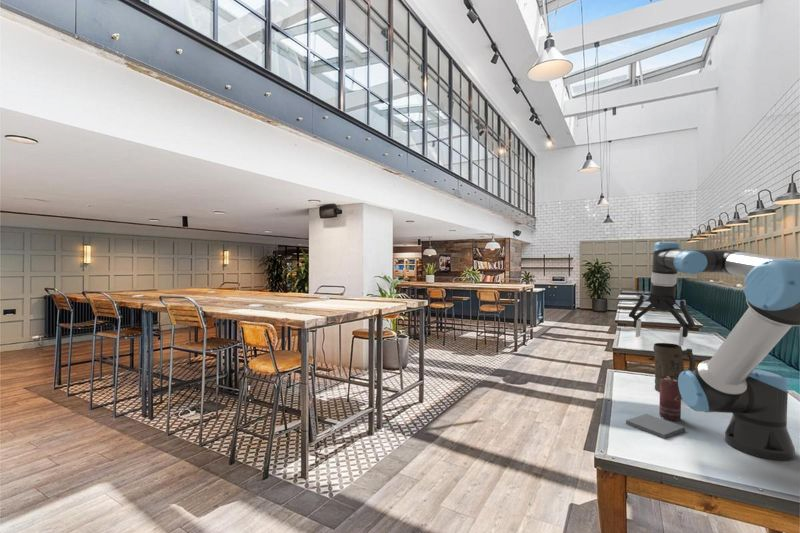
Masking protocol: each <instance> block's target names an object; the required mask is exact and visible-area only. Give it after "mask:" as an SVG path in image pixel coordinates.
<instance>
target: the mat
mask: <svg viewBox="0 0 800 533" xmlns="http://www.w3.org/2000/svg"><path fill="white" fill-rule="evenodd" d="M625 424H626V425H628V426H631V427H634V428H636V429H638V430H641V431H644V432H646V433H649V434H651V435H654V436H657V437H659V438H660V439H667V438H669V437H671V436H675V435H677V434H680V433H682V432H685V428H686V427H685V426H682V425H681V424H680V425H679V424H677V423H674V422H672V421H670V420H667V419H664V418H660V417H658V416H654V415H652V414H649V413H644V414H642V415H638V416H635V417H631V418H629V419H626V420H625Z"/></svg>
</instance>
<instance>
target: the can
mask: <svg viewBox="0 0 800 533" xmlns="http://www.w3.org/2000/svg"><path fill="white" fill-rule="evenodd" d="M681 407H682V396H681V394H680V391H679V386H678V379H677V378H673V377H668V376H666V377H661V379H660V392H659V416H660V417H661V418H662V417H663V418H662V419H664V418H665V419H664V420H667V419H668V420H667V421H671V420H672V421H673V422H679V421H680V420H681V414H682V412H681V411H682V410H681V409H682V408H681ZM672 421H671V422H672Z"/></svg>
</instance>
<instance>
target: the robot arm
mask: <svg viewBox="0 0 800 533" xmlns="http://www.w3.org/2000/svg"><path fill="white" fill-rule="evenodd" d="M652 254H653V255H652V267H651V280H650V282H651V284H650V289H649V290H650V293H649V295H646V294H643V293H642V294H641V295H639V298H638V301H637V302H636V304H635V306H634V307H633V308H632V310H631V311H630V313H629V314H628V317H629V318H631V319H633V325H632V327H633V328H635V338H639V337H640V336H641V329H642V319H641V317H643V316H644V315H645V314H647V313H648V312H649V311H651V309H655V310H662V311H668V312H670V313H671V315H672V316H673V317H674V318H675V320H676V321H677V322H678V324H680V326H681V327H680V328H679V334H678V336H679V337H678V344H677V345H678V346H681V347H682V346H684V338H687V337H688V336H689V335H688V333H689V329H693V328H695V326H696V323H695V321H694V319H693V318H692V315H691V312H690V311H689V309H688V307H687V301H686V299H676V292H677V286H676V285H677V281H678V273H679V272H680V273H683V274H686V275H687V274H690V275H698V274H700V273H719V274H720V273H723V274H726V275H731V276H738V277H742V278H745V279H744V281H743V284H744V285H745V287H743V293H744V295H745V299H746V300H745V301H746V304H747V306H748V308H747V309H746V311H745V312H744V313H743V315H742V316H741V317H740V319H739V321H737V323H736V324H735V326H734V327H733V328H732V330H731V331H730V332H729V333H728V335H727V336H726V338H725V339H724V340H723V342H722V343H721V345H720V346H719V347H718V349H716V351H715V353H714V354H713V355H712V357H711V358H710V359H706V360H703V361H701V362H700V363H699V364H698V365H696V366H697V367H695V370H694V371H689V369H688V370H684V371H683V372H681V373H680V375H679V378H678V386H679V391H680V394H681V399H682V401H683V402H684V403H685V405H687V407H688V408H690V409H691V410H694V411H696V412H704V413H725V414H727V413H728V414H729V413H730V414H732V416H731V418H730V421H729V422H728V425H727V426H726V429H725V431H724V441H725V442H726V443H727V444H728V445H729V446H731V447H732V448H734V449H737V450H738V451H741V452H743V453H746V454H749V455H751V456H755V457H759V458H763V459H769V460H774V461H791V460H790V459H792V460H794V459H795V458H796V448H795V446H794V443H793V440H792V438H791V436H790V432H789V431H788V427H787V426H788V424H787V422H788V421H787V420H788V396H789V390H788V381H787V379H786V378H785V377H784V376H782V375H780V374H777V373H774V372H772V371H768V370H765V369H764V370H763V369H759V368H757V367H758V366H759V365H760V364H761V362H762V361H763V360H764V359H765V358H766V357H767V356H768V354H770V352H771V351H772V350H773V348H775V347H776V345H778V343H779V342H780V341H781V339H782V338H783V337H784V336H785V335H786V334H787V333H788V331H790V329H791V328H792V327H800V259H794V258H789V257H788V258H787V257H781V256H780V257H779V256H774V255H773V256H771V255H765V254H758V253H757V254H756V253H750V252H746V251H745V250H740V249H681V246H680V243H679V242H676V241H657V242H655V244H654V248H653V252H652ZM647 300H648V302H649V303H650V304H648V305H647V306H646V307H645V308H644V309H643V310H641V311H640V312H639V313H637V312H638V311H639V309H640V308H641V307H642V305H643V304H644V302H646V301H647ZM676 304H677V306H679V308H680V311H681V312H682V314H683V316H684V318H685V319H684V318H683V316H682V315H681V314H680V313H679V311H678V310H677V309H676V307H675V306H674V305H676ZM636 313H637V314H636ZM794 457H795V458H794ZM793 458H794V459H793Z"/></svg>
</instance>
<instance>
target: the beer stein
mask: <svg viewBox="0 0 800 533" xmlns="http://www.w3.org/2000/svg"><path fill="white" fill-rule="evenodd" d="M678 345H679V344H676V343H668V342H656V343H654V344H653V352H654V378H655V379H654V384H655V385H654V391H655V390H656V391H657V392H659V393H660V379H661V377H666V376H668V377H673V378H677V379H678V378H679V375H680V373H681V372H683V371H685V367H684V366H685V364H684V359H683V357H684V356H687V357H688V361H689V362H688V363H689V364H688V365H689V366H688V370H689V371H694V370H695V369H696V366H697V364H696V363H697V362H696V359H695V356H694V353H693V348H686V349H684V350H683V349H682V346H678Z"/></svg>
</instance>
